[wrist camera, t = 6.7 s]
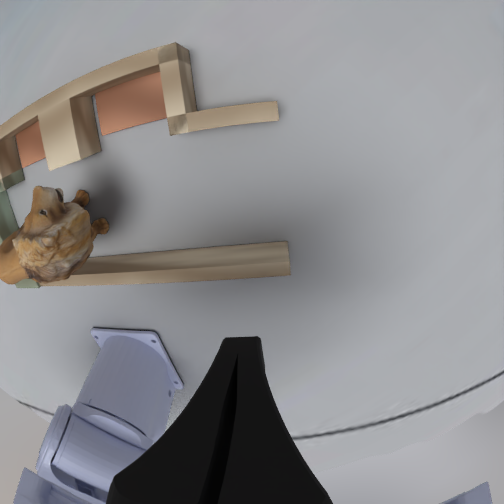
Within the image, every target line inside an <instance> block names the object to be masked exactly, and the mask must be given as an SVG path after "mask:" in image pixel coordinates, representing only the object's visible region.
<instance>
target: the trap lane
mask: <svg viewBox="0 0 504 504" xmlns="http://www.w3.org/2000/svg"><path fill="white" fill-rule="evenodd" d="M93 95H95V98H96V105H97V111H98V117H99V122H100V128H101V133H102V136H103V135H106V134H109V133H113V132H116V131H119V130H122V129H126V128H129V127H133V126H136V125H140V124H144V123H148V122H152V121H156V120H160V119H164V118H167V120H168V126H169V132H170V136H172V135H176V134H182V133H187V132H192V131H198V130H204V129H210V128H217V127H224V126H231V125H239V124H248V123H257V122H268V121H279V115H278V106H277V101H271V102H260V103H250V104H242V105H234V106H227V107H220V108H213V109H207V110H202V111H197V107H196V100H195V93H194V86H193V79H192V72H191V64H190V57H189V50H188V49H186V48H184V47H183V46H181V45H179V44H178V43H176V42H175V43H171V44H168V45H164V46H161V47H157V48H154V49H151V50H147V51H144V52H141V53H138V54H135V55H132V56H130V57H127V58H124V59H121V60H119V61H116V62H114V63H111V64H109V65H106V66H104V67H101V68H99V69H97V70H95V71H92V72H90V73H88V74H86V75H84V76H82V77H79V78H77V79H75V80H73V81H71V82H69V83H67V84H66V85H64V86H62V87H60V88H58V89H56V90H54V91H53V92H51V93H49V94H47V95H46V96H44V97H42V98H41V99H39V100H37V101H36V102H34V103H32V104H31V105H29V106H28V107H26V108H25V109H23V110H22V111H20V112H19V113H17V114H16V115H14V116H13V117H12V118H10V119H9V120H7V121H6V122H5V123H3V124H2V125H1V126H0V245H1V244H2V242H3V241H4V240H5V239H6V238H7V237H9V236H10V235H11V234H13V232H15V231H17V230H19V228H18V225H17V223H16V220H15V217H14V214H13V211H12V208H11V205H10V202H9V199H8V196H7V192H6V190H7V189H8V188H10V187H12V186H14V185H15V184H17V183H19V182H21V181H23V180H25V179H24V175H23V171H22V168H24V167H26V166H28V165H30V164H32V163H35V162H37V161H39V160H41V159H43V158H46V160H47V164H48V168H49V171H51V170H54V169H56V168H59V167H62V166H64V165H67V164H70V163H73V162H76V161H79V160H81V159H84V158H86V157H88V156H91V155H93V154H95V153H98V152H100V151H101V146H100V141H99V137H98V132H97V126H96V121H95V115H94V109H93V103H92V96H93ZM15 136H16V140H15ZM16 141H17V145H16ZM17 146H18V150H19V155H20V159H21V163H20V159H19V155H18V150H17ZM21 164H22V168H21ZM287 275H291V274H290V259H289V251H288V243H287V241H282V242H269V243H256V244H244V245H231V246H219V247H207V248H195V249H183V250H171V251H159V252H148V253H137V254H125V255H114V256H103V257H92V258H88V259H87V261H86V262H85V263H84V264H83V265H82V267H81V268H80V269H79V270H77V271H76V272H75V273H74V274H72V275H70V277H69V278H68V279H66V280H60V281H55V282H51V283H47V284H44V283H42V282H41V283H38V282H36V281H34V280H32V279H30V278H28V279H23V280H21V281H19V282H18V283H16V284H15V285H16V287H17V288H40V287H41V286H86V285H122V284H149V283H172V282H193V281H211V280H228V279H244V278H259V277H274V276H287Z"/></svg>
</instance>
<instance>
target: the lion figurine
mask: <svg viewBox="0 0 504 504" xmlns="http://www.w3.org/2000/svg"><path fill="white" fill-rule="evenodd" d="M88 202H89V195H88V194H87V193H86V192H85V191H83V190H78V191H77V193H76V197H75V199H74V200H73V201H72V202H66V203H64V201H63V191H62V190H61V189H59V188H57V189H54V188H50V187H42V186H36V187H35V188H34V190H33V202H32V208H31V212H30V213H29V214H28V215H27V217H26V218H25V222H24V224H23V225H22V227H21V228H20V229H19V230H17V231H15V232H13V234H11V235H10V236H9V237H7V238H6V239H5V240H4V241H3V242H2V244H1V245H0V279H1V280H2V281H4V282H6V283H7V284H16V283H18V282H19V281H21V280H23V279H28V278H30V279H32V280H34V281H36V282H38V283H41V282H42V283H44V284H47V283H51V282H55V281H60V280H66V279H68V278H69V277H70V275H72V274H74V273H75V272H76V271H77V270H79V269H80V268H81V267H82V265H83V264H84V263H85V262H86V261H87V259H88V257H89V256H90V253H91V252H92V250H93V247H94V246H93V243H92V242H93V241H94V239H95V237H96V236H97V234H106V233H107V232H108V230H109V224H108V222H107V221H106V219H104V218H100V219H98V220H95V221H93V223H92V225H91V223H90V215H89V213H88V212H87V210H84V207H85V206H86V205H87V204H88Z"/></svg>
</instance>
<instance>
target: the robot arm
mask: <svg viewBox="0 0 504 504" xmlns="http://www.w3.org/2000/svg"><path fill="white" fill-rule="evenodd" d="M91 334H92V336H93V337H94V339H95V340H96V342H97V344H98V345H99V347H100V348H101V350H100V352H99V354H98V356H97V358H96V360H95V362H94V364H93V366H92V368H91V370H90V372H89V374H88V376H87V378H86V381H85V383H84V385H83V387H82V389H81V391H80V394H79V396H78V398H77V400H76V403H75V404H74V406H73V407H72V408H71V407H70V406H69V405H67V404H65V405H64V406H63V405H62V406H58V408H57V410H56V412H55V414H54V416H53V419H52V421H51V423H50V426H49V428H48V430H47V433H46V435H45V438H44V440H43V443H42V445H41V448H40V451H39V457H38V460H37V463H36V470H37V474H35V473H34V472H32V471H30V470H29V469H27V468H24V469H23V472H22V475H21V478H20V482H19V485H18V488H17V492H16V495H15V498H14V502H13V503H14V504H333V503H332V501H331V499H330V497H329V495H328V493H327V492H326V490H325V489H324V488H323V487H322V485H321V484H320V482H319V481H318V480H317V478H316V477H315V475H314V474H313V473H312V471H311V470H310V468H309V466H308V465H307V463H306V462H305V460H304V459H303V457H302V455H301V454H300V452H299V450H298V448H297V447H296V445H295V443H294V442H293V440H292V438H291V436H290V434H289V432H288V430H287V428H286V426H285V424H284V422H283V420H282V418H281V415H280V413H279V411H278V408H277V406H276V403H275V401H274V398H273V396H272V393H271V390H270V387H269V384H268V381H267V377H266V374H265V364H264V358H263V351H262V345H261V338H259V337H258V336H255V337H230V338H225V339H223V342H222V344H221V346H220V349H219V351H218V353H217V355H216V357H215V359H214V361H213V363H212V365H211V367H210V369H209V371H208V372H207V374H206V376H205V378H204V379H203V381H202V383H201V385H200V386H199V388H198V389H197V391H196V392H195V394H194V395H193V397H192V399H191V400H190V402H189V403H188V404H187V406H186V407H185V409H184V410H183V411H182V413H181V414H180V415H179V416H178V418H177V419H176V420H175V421H174V423H173V424H172V425H171V426H170V427H169V428H168V429H167V431H166V432H165V429H166V425H167V421H168V417H169V413H170V409H171V405H172V401H173V397H174V393H175V389H183V388H184V385H183V383H182V381H181V380H180V378H179V376H178V374H177V372H176V370H175V368H174V367H173V365H172V363H171V361H170V359H169V357H168V355H167V353H166V351H165V349H164V347H163V345H162V343H161V341H160V339H159V337H158V335H157V334H156V333H155V332H152V331H130V330H113V329H98V328H92V329H91ZM164 432H165V433H164ZM153 443H154V444H153ZM440 504H492V499H491V494H490V489H489V484H488V482H485V483H483V484H481V485H479V486H477V487H475V488H473V489H471V490H469V491H467V492H464V493H462V494H459V495H457V496H455V497H453V498H451V499H449V500H447V501H445V502H442V503H440Z"/></svg>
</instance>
